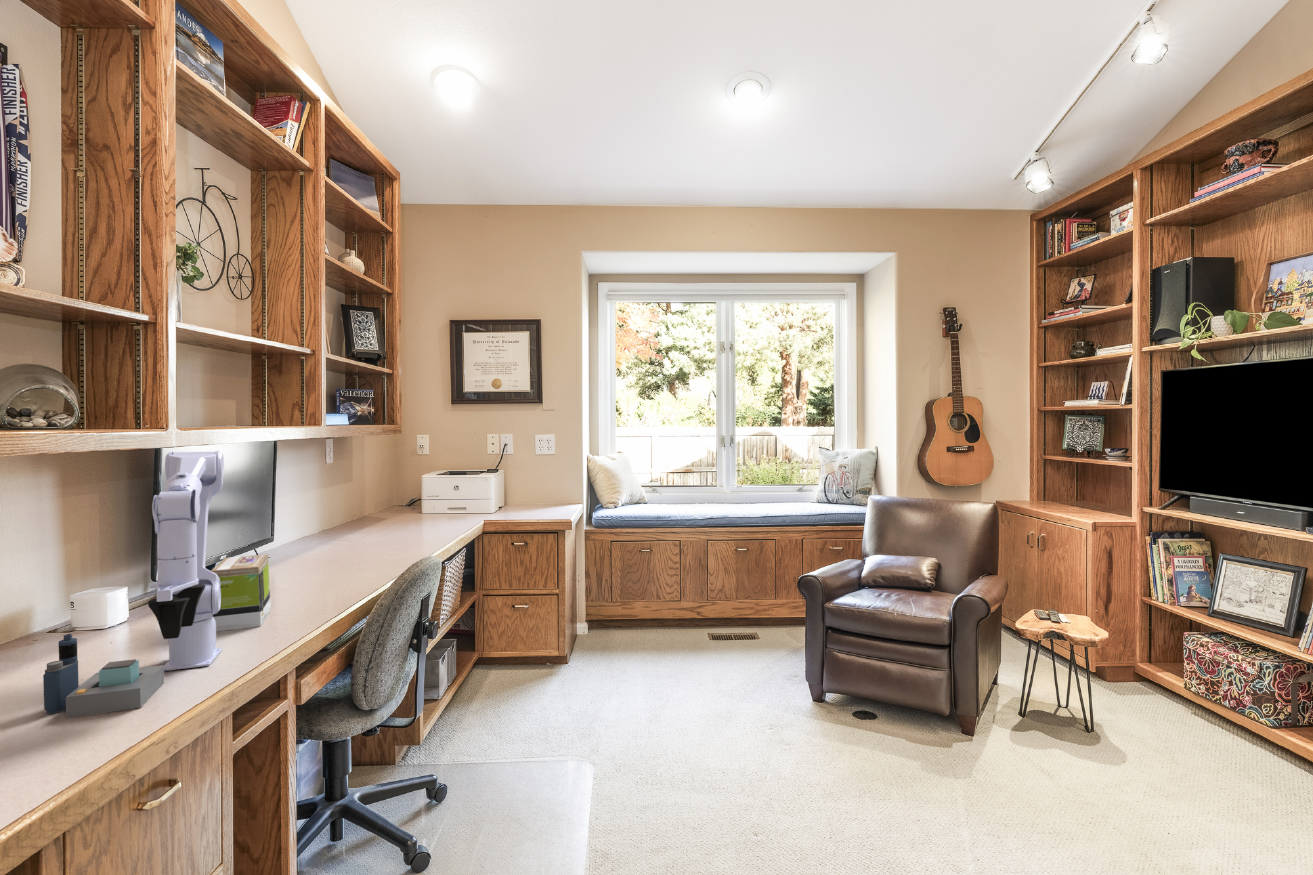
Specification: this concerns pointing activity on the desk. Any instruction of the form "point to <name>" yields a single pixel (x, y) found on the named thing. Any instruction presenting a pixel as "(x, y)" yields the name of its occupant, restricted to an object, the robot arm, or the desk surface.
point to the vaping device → (61, 676)
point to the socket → (114, 694)
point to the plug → (119, 673)
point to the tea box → (243, 592)
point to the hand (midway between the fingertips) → (178, 632)
